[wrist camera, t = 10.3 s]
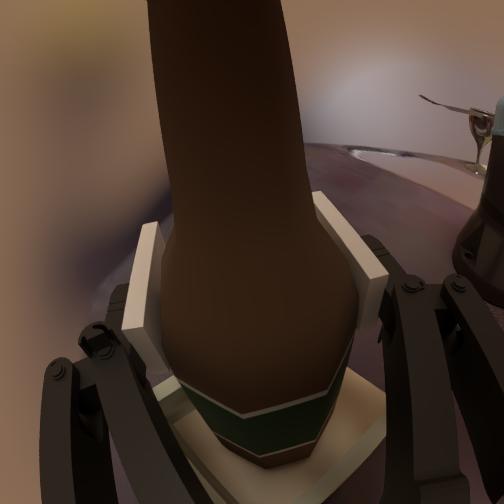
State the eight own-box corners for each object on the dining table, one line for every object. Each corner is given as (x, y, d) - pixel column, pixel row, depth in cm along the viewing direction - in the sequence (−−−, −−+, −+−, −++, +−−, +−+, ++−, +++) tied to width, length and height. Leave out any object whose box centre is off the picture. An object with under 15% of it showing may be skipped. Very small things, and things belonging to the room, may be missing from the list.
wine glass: (457, 163, 59) (463, 106, 50) (473, 161, 60) (479, 108, 51) (480, 177, 53) (489, 116, 44) (495, 174, 54) (503, 118, 45)
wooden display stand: (288, 332, 28) (285, 267, 24) (402, 413, 19) (439, 362, 15) (157, 425, 21) (112, 379, 16) (263, 547, 12) (248, 559, 8)
